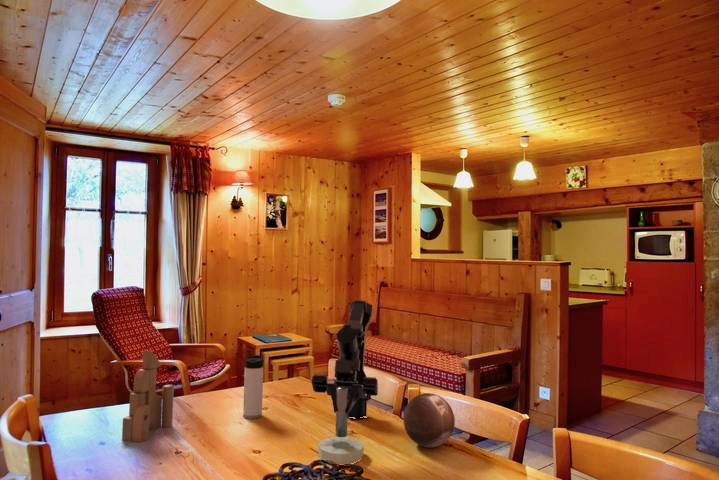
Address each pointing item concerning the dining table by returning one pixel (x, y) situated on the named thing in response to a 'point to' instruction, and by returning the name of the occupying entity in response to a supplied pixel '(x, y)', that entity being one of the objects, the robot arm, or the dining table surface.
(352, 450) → the grey ring
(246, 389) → the travel mug
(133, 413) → the wooden toy
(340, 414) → the metal peg
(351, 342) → the robot arm
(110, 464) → the dining table surface
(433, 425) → the wooden sphere
